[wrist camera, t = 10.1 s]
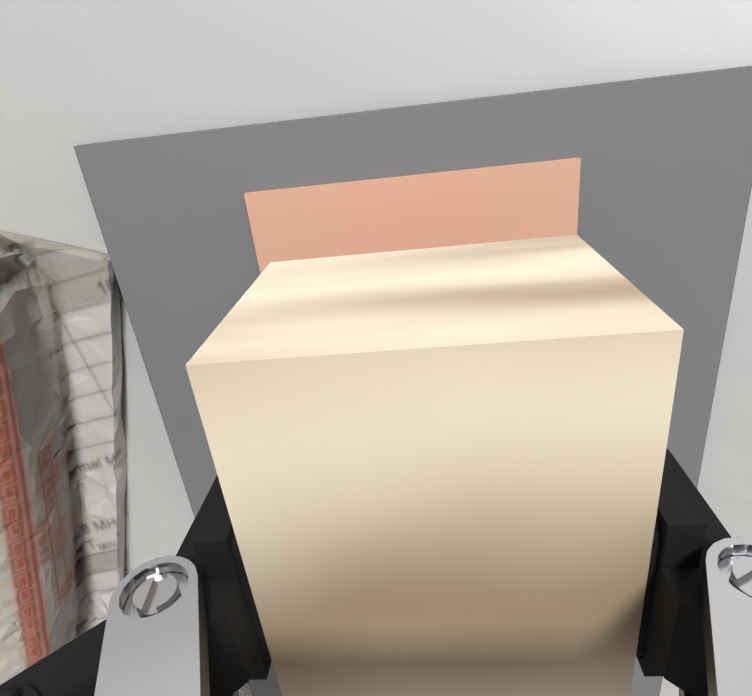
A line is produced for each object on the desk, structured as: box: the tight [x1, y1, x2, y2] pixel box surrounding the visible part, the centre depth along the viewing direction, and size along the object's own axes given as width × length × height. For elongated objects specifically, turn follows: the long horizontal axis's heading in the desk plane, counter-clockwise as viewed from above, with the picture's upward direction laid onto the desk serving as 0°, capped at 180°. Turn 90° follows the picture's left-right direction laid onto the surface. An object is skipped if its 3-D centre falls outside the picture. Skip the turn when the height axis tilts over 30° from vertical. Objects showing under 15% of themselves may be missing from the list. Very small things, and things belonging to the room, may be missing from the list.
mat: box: [74, 66, 752, 696], centre depth 19 cm, size 16×30×1 cm, turn 6°
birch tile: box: [185, 235, 684, 696], centre depth 10 cm, size 9×6×4 cm, turn 6°
